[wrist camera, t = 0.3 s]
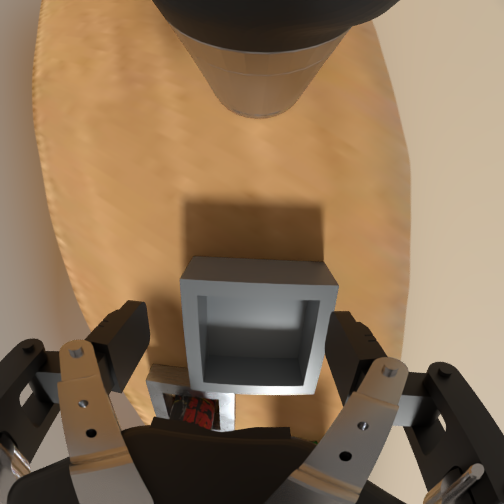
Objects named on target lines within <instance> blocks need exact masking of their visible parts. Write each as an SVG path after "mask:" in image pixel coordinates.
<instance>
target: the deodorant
mask: <svg viewBox="0 0 504 504" xmlns="http://www.w3.org/2000/svg"><path fill="white" fill-rule="evenodd" d="M215 405H216V399H208V398H198V397H189V396H182V395H176V396H175V400H174V403H173V406H172V410H171V413H170V416H169V419H172V420H178V421H185V422H188V423H191V424H194V425H197V426H200V427H204V428H207V429H210V430H212V426H213V419H214V412H215Z"/></svg>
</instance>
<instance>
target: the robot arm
mask: <svg viewBox="0 0 504 504" xmlns="http://www.w3.org/2000/svg"><path fill="white" fill-rule="evenodd" d="M152 1H153V2H154V3H155V5H156V6H157V8H158V9H159V10H160V12H161V13H162V15H163V16H164V17H165V19H166V20H167V21H168V23H169V24H170V26H171V27H172V29H173V30H174V32H175V33H176V34H177V36H178V37H179V39H180V40H181V42H182V43H183V45H184V46H185V47H186V49H187V50H188V52H189V54H190V55H191V57H192V58H193V60H194V61H195V63H196V64H197V66H198V68H199V69H200V71H201V72H202V74H203V75H204V77H205V79H206V80H207V82H208V83H209V85H210V87H211V88H212V90H213V92H214V93H215V95H216V96H217V98H218V99H219V100H220V102H221V103H222V104H223V105H224V106H225V107H226V108H227V109H229V110H230V111H232V112H234V113H236V114H238V115H241V116H244V117H248V118H255V119H258V118H269V117H273V116H276V115H279V114H281V113H283V112H285V111H286V110H288V109H289V108H290V107H292V106H293V105H294V104H295V102H296V101H297V100H298V99H299V97H300V96H301V95H302V93H303V92H304V91H305V89H306V88H307V87H308V85H309V84H310V82H311V81H312V80H313V78H314V77H315V75H316V74H317V73H318V71H319V70H320V68H321V67H322V66H323V64H324V63H325V62H326V60H327V59H328V58H329V56H330V55H331V54H332V52H333V51H334V50H335V48H336V47H337V46H338V44H339V43H340V42H341V40H342V39H343V37H344V36H345V35H346V33H347V32H348V31H349V30H350V28H351V27H352V26H355V25H358V24H362V23H365V22H367V21H370V20H372V19H374V18H376V17H378V16H380V15H381V14H383V13H385V12H386V11H387V10H389V9H390V8H391V7H392V6H393V5H395V4H396V3H397V2H398V1H399V0H152ZM149 342H150V329H149V322H148V315H147V307H146V304H145V302H141V301H131V300H128V301H127V302H126V303H125V304H124V305H123V306H122V307H121V308H120V309H119V310H115V311H114V312H112V313H110V314H108V315H107V316H106V317H105V318H104V319H103V321H101V323H100V324H99V325H98V326H97V327H96V328H95V329H94V330H93V331H92V332H91V333H90V334H89V335H88V337H87V338H86V339H85V340H73V341H70V342H67V343H66V344H64V345H63V346H62V347H61V348H60V351H45V348H44V345H43V343H42V341H40V340H38V339H27V340H24V341H22V342H20V343H19V344H17V346H16V347H14V348H13V349H12V350H11V351H10V352H9V353H8V354H7V355H6V356H5V358H3V360H1V362H0V504H406V503H404V502H402V501H401V500H399V499H397V498H396V497H394V496H392V495H391V494H389V493H387V492H386V491H384V490H383V489H381V488H379V487H378V486H376V485H375V484H373V483H372V482H370V481H369V480H367V479H368V477H369V475H370V473H371V471H372V470H373V467H374V465H375V463H376V461H377V459H378V457H379V455H380V453H381V451H382V449H383V446H384V444H385V442H386V439H387V437H388V435H389V432H390V430H391V427H392V425H393V426H403V428H404V430H405V432H406V435H407V437H408V440H409V442H410V445H411V448H412V450H413V453H414V455H415V458H416V460H417V463H418V466H419V469H420V471H421V474H422V477H423V480H424V482H425V485H426V488H427V491H428V493H427V494H426V496H425V498H424V501H423V504H504V435H503V433H502V432H501V430H500V429H499V427H498V426H497V424H496V423H495V421H494V419H493V418H492V417H491V415H490V414H489V412H488V411H487V409H486V408H485V406H484V405H483V403H482V402H481V401H480V399H479V398H478V397H477V395H476V394H475V392H474V391H473V390H472V388H471V387H470V386H469V384H468V383H467V381H466V380H465V379H464V378H463V376H462V375H461V374H460V372H459V371H458V370H457V369H456V368H455V367H454V366H452V365H450V364H448V363H445V362H435V363H432V364H431V365H430V366H429V368H428V370H427V372H426V373H416V372H415V373H414V372H409V371H408V368H407V366H406V365H405V364H404V363H403V362H401V361H400V360H398V359H395V358H391V357H387V355H386V354H385V352H384V350H383V349H382V347H381V346H380V344H379V343H378V341H376V338H375V337H374V336H373V334H372V332H371V331H370V330H369V328H368V327H367V326H365V325H364V324H362V323H361V322H356V321H355V319H354V318H353V316H352V315H351V313H350V312H349V311H332V312H331V314H330V319H329V324H328V330H327V335H326V340H325V356H326V359H327V361H328V364H329V367H330V370H331V373H332V375H333V378H334V381H335V384H336V387H337V390H338V393H339V396H340V399H341V401H342V404H343V409H342V410H341V412H340V413H339V415H338V416H337V418H336V419H335V421H334V422H333V424H332V425H331V427H330V428H329V430H328V431H327V432H326V434H325V435H324V437H323V438H322V439H321V441H320V442H319V443H318V445H317V444H315V443H313V442H310V441H307V440H304V439H301V438H297V437H292V436H291V434H290V427H254V428H247V429H241V430H233V431H225V432H217V431H214V430H210V429H207V428H204V427H200V426H197V425H194V424H191V423H188V422H185V421H178V420H172V419H165V418H160V417H154V418H153V420H152V423H151V425H145V426H137V427H132V428H129V429H125V430H123V431H122V429H121V426H120V424H119V421H118V419H117V416H116V414H115V411H114V408H113V406H112V403H111V400H110V397H109V394H110V392H111V391H114V392H118V393H122V392H123V390H124V388H125V386H126V384H127V383H128V381H129V379H130V377H131V375H132V374H133V372H134V370H135V368H136V367H137V365H138V363H139V361H140V359H141V358H142V356H143V354H144V352H145V351H146V349H147V347H148V345H149ZM28 383H29V385H30V387H31V389H32V391H33V393H32V394H31V395H30V397H29V398H28V399H27V401H26V402H25V404H24V405H23V406H22V407H21V405H20V401H19V397H20V394H21V392H22V391H23V389H24V388H25V387H26V385H27V384H28ZM59 411H61V418H62V423H63V429H64V434H65V439H66V444H67V448H68V452H69V457H67V458H65V459H63V460H61V461H58V462H56V463H54V464H51V465H49V466H46V467H44V468H42V469H39V470H36V471H34V472H31V473H30V471H31V469H30V463H31V461H32V459H33V457H34V455H35V453H36V452H37V450H38V448H39V446H40V444H41V442H42V440H43V439H44V437H45V435H46V433H47V432H48V430H49V428H50V426H51V425H52V423H53V421H54V419H55V418H56V416H57V414H58V413H59ZM440 414H441V415H442V417H443V419H444V421H445V423H446V432H445V430H444V428H443V426H442V425H441V423H440V421H439V419H438V416H439V415H440Z"/></svg>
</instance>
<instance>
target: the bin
mask: <svg viewBox="0 0 504 504" xmlns="http://www.w3.org/2000/svg"><path fill="white" fill-rule="evenodd" d="M338 288H339V285H338V283H337V282H336V280H335V279H334V277H333V275H332V274H331V272H330V271H329V269H328V267H327V266H326V264H325V263H324V262H313V261H289V260H266V259H244V258H222V257H201V256H193V258H192V260H191V261H190V263H189V265H188V266H187V268H186V269H185V271H184V273H183V274H182V276H181V278H180V290H181V304H182V316H183V327H184V337H185V346H186V355H187V363H188V371H189V379H190V386H191V390H197V391H207V392H218V393H233V394H254V395H305V394H314V392H315V389H316V385H317V381H318V378H319V374H320V370H321V366H322V362H323V358H324V354H325V340H326V335H327V330H328V324H329V319H330V314H331V312H332V311H334V309H335V304H336V299H337V293H338Z"/></svg>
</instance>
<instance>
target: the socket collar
mask: <svg viewBox="0 0 504 504" xmlns="http://www.w3.org/2000/svg"><path fill="white" fill-rule="evenodd" d="M146 384H147V387H148V391H149V394H150V398H151V401H152V404H153V407H154V411H155V414H156V417H160V418H165V419H169V416H170V413H171V410H172V406H173V403H174V400H173V396H172V394H174V395H182V396H189V397H198V398H208V399H219V412H220V413H214V419H213V426H212V430H214V431H217V432H225V431H233V430H235V419H236V394H233V393H218V392H207V391H197V390H191V386H190V379H189V371H188V368H181V367H173V366H165V365H158V364H153V365H152V367H151V369H150V372H149V374H148V376H147V378H146Z"/></svg>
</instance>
